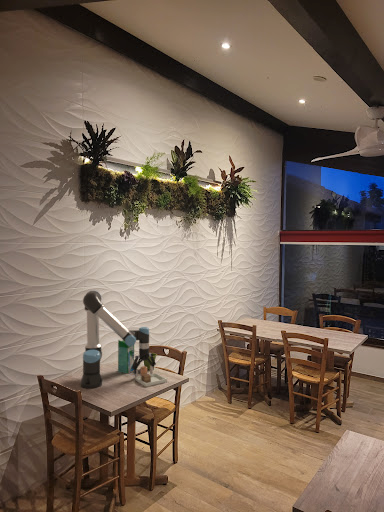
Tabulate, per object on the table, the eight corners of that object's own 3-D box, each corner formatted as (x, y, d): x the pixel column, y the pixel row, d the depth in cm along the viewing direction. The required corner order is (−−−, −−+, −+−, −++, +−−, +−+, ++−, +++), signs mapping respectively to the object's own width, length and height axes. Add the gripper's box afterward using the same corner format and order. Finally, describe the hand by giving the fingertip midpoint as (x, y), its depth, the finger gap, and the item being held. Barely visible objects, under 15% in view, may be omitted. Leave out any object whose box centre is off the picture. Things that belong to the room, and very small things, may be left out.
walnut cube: (150, 382, 293) (150, 375, 292) (144, 383, 290) (144, 376, 289) (147, 380, 297) (147, 373, 296) (141, 381, 294) (141, 374, 293)
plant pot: (159, 367, 328) (159, 353, 328) (151, 371, 317) (152, 357, 317) (146, 365, 333) (146, 351, 333) (139, 369, 322) (139, 355, 322)
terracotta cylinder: (142, 378, 303) (142, 368, 302) (139, 376, 307) (139, 367, 306) (148, 376, 306) (148, 367, 306) (145, 375, 310) (145, 365, 310)
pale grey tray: (146, 387, 284) (146, 383, 284) (135, 380, 297) (135, 377, 297) (166, 382, 295) (166, 378, 295) (155, 376, 307) (155, 373, 307)
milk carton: (127, 373, 313) (127, 341, 312) (117, 371, 316) (118, 339, 315) (134, 370, 321) (134, 338, 320) (124, 368, 325) (124, 337, 324)
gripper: (132, 351, 295) (131, 380, 296) (160, 346, 310) (160, 374, 311) (127, 349, 301) (127, 377, 302) (155, 344, 316) (155, 371, 317)
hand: (143, 376), depth 306 cm, fingers open, 12 cm apart
